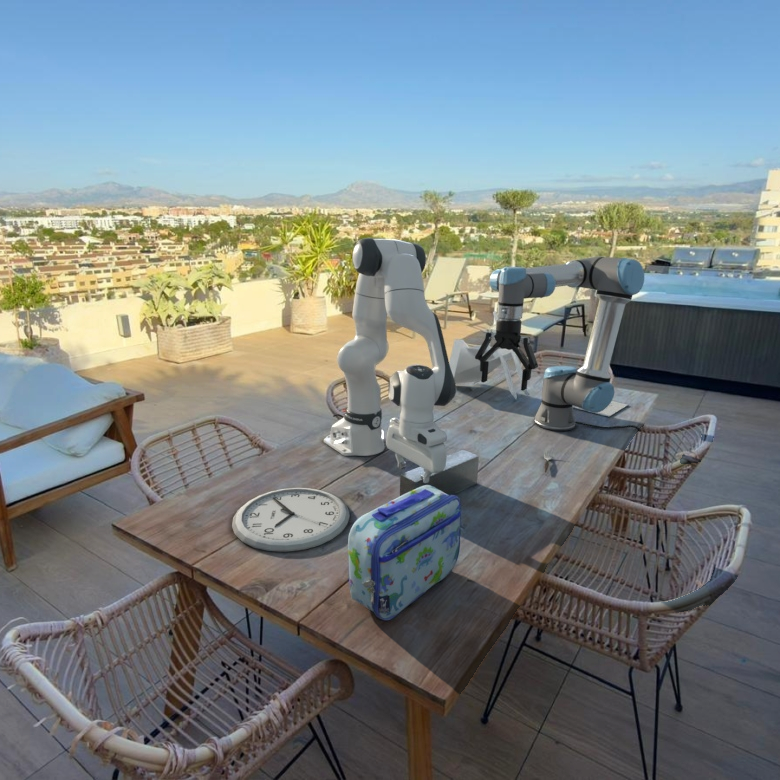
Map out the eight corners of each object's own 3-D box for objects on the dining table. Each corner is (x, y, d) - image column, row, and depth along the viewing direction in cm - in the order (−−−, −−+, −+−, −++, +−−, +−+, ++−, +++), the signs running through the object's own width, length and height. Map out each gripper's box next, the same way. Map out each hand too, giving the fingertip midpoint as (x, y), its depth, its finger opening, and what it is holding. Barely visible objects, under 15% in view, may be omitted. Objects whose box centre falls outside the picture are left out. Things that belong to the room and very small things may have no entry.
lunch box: (378, 635, 98) (379, 537, 91) (341, 606, 105) (340, 513, 99) (464, 574, 115) (470, 488, 109) (427, 553, 122) (431, 471, 116)
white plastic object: (461, 429, 252) (437, 405, 227) (444, 352, 274) (420, 323, 250) (535, 404, 240) (518, 377, 215) (510, 326, 262) (492, 293, 237)
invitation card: (608, 416, 214) (573, 407, 224) (608, 416, 214) (573, 408, 224) (628, 404, 229) (594, 396, 238) (628, 405, 229) (594, 397, 238)
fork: (540, 473, 163) (541, 467, 163) (544, 453, 178) (545, 448, 177) (549, 474, 162) (550, 468, 162) (552, 454, 177) (553, 449, 176)
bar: (461, 477, 160) (463, 449, 158) (476, 484, 156) (479, 455, 153) (399, 504, 144) (400, 474, 141) (414, 513, 140) (415, 482, 137)
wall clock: (350, 543, 123) (219, 547, 120) (350, 549, 123) (220, 553, 121) (349, 483, 151) (243, 486, 149) (349, 488, 152) (243, 491, 149)
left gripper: (381, 417, 143) (379, 463, 147) (434, 443, 128) (430, 493, 132) (399, 413, 146) (396, 458, 151) (452, 437, 132) (447, 486, 136)
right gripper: (467, 315, 164) (463, 380, 170) (544, 325, 150) (536, 396, 156) (478, 313, 170) (474, 376, 176) (553, 322, 155) (546, 390, 162)
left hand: (412, 474), depth 141 cm, fingers open, 8 cm apart
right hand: (503, 385), depth 166 cm, fingers open, 13 cm apart
